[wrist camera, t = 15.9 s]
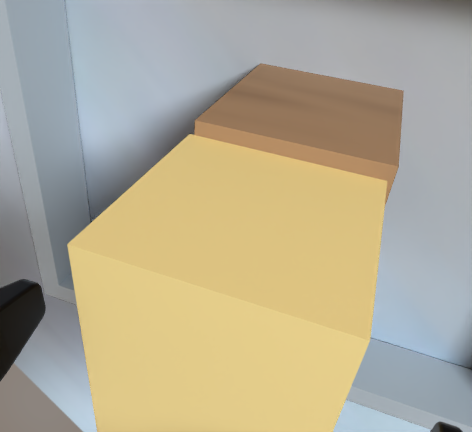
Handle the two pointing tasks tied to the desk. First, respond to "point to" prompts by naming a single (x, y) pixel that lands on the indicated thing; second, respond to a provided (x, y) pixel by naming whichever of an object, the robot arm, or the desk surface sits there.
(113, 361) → the mustard box
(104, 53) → the desk surface
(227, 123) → the walnut block
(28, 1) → the gray tray
